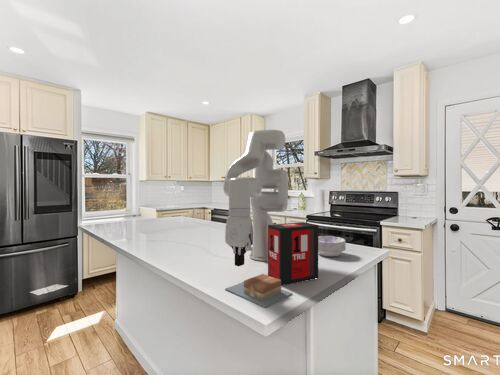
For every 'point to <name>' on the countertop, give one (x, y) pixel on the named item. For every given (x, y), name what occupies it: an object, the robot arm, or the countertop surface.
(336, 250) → the paper bowls
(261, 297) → the brown block
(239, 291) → the mat
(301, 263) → the cleaning product box
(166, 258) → the countertop surface
